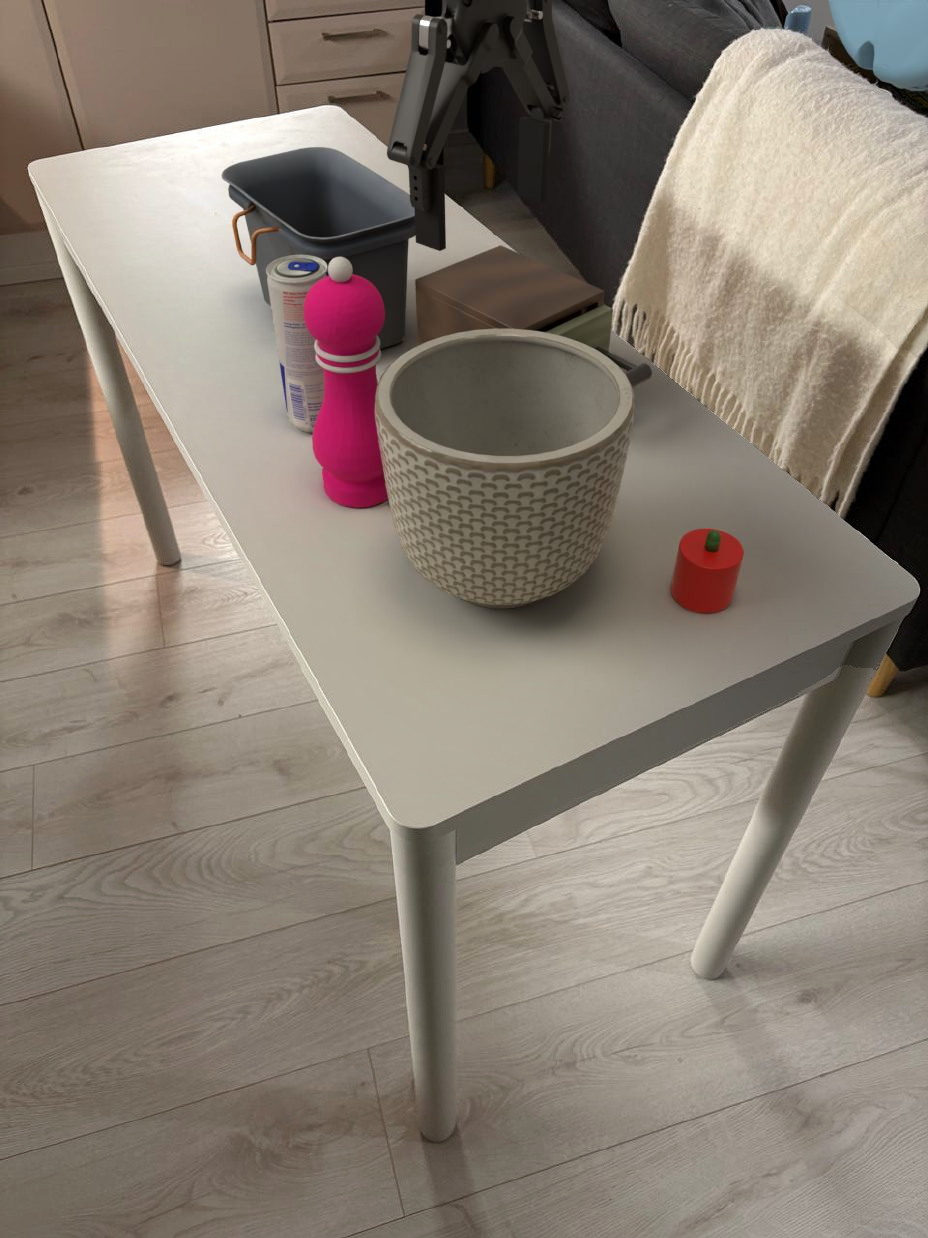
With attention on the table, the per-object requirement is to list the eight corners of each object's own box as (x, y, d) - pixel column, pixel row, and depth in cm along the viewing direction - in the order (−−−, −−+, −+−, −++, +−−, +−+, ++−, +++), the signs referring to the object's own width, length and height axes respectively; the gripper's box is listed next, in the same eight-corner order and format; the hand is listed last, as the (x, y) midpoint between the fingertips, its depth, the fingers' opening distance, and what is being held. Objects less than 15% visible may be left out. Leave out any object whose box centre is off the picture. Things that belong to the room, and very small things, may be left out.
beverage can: (348, 408, 92) (333, 252, 82) (338, 438, 88) (320, 279, 78) (295, 405, 92) (273, 250, 82) (283, 435, 89) (258, 277, 78)
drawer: (656, 410, 90) (668, 333, 84) (583, 452, 85) (591, 373, 80) (513, 338, 100) (516, 264, 94) (441, 372, 95) (439, 296, 90)
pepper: (743, 588, 74) (759, 527, 70) (715, 622, 71) (730, 561, 67) (688, 564, 76) (701, 504, 72) (659, 596, 73) (670, 535, 69)
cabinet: (595, 384, 95) (604, 290, 88) (514, 427, 90) (518, 330, 83) (498, 334, 102) (500, 244, 95) (418, 371, 97) (414, 279, 90)
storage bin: (441, 346, 100) (438, 205, 91) (309, 391, 94) (290, 246, 84) (339, 272, 113) (327, 141, 103) (216, 308, 107) (190, 172, 97)
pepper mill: (303, 500, 82) (269, 270, 68) (342, 454, 87) (318, 230, 73) (380, 520, 80) (362, 287, 66) (416, 472, 85) (406, 245, 71)
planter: (573, 491, 82) (589, 314, 71) (644, 631, 70) (676, 444, 59) (372, 519, 80) (355, 341, 69) (410, 670, 68) (397, 482, 57)
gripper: (549, -104, 78) (537, 170, 93) (321, -58, 65) (350, 255, 79) (626, -95, 75) (601, 189, 89) (403, -44, 61) (417, 281, 76)
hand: (483, 220), depth 84 cm, fingers open, 13 cm apart
